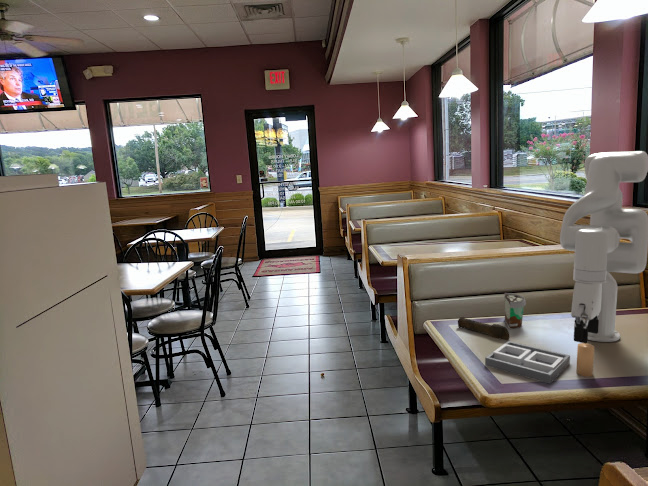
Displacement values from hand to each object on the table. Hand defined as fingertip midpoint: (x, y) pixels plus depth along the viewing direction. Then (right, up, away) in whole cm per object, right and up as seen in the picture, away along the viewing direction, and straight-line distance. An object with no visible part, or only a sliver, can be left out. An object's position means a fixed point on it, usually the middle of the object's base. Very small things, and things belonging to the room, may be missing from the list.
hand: (586, 337), depth 126 cm
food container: (-2, -4, +42) cm, 42 cm away
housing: (-12, -10, +9) cm, 18 cm away
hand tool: (-15, -6, +35) cm, 39 cm away
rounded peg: (+1, -11, +2) cm, 11 cm away
